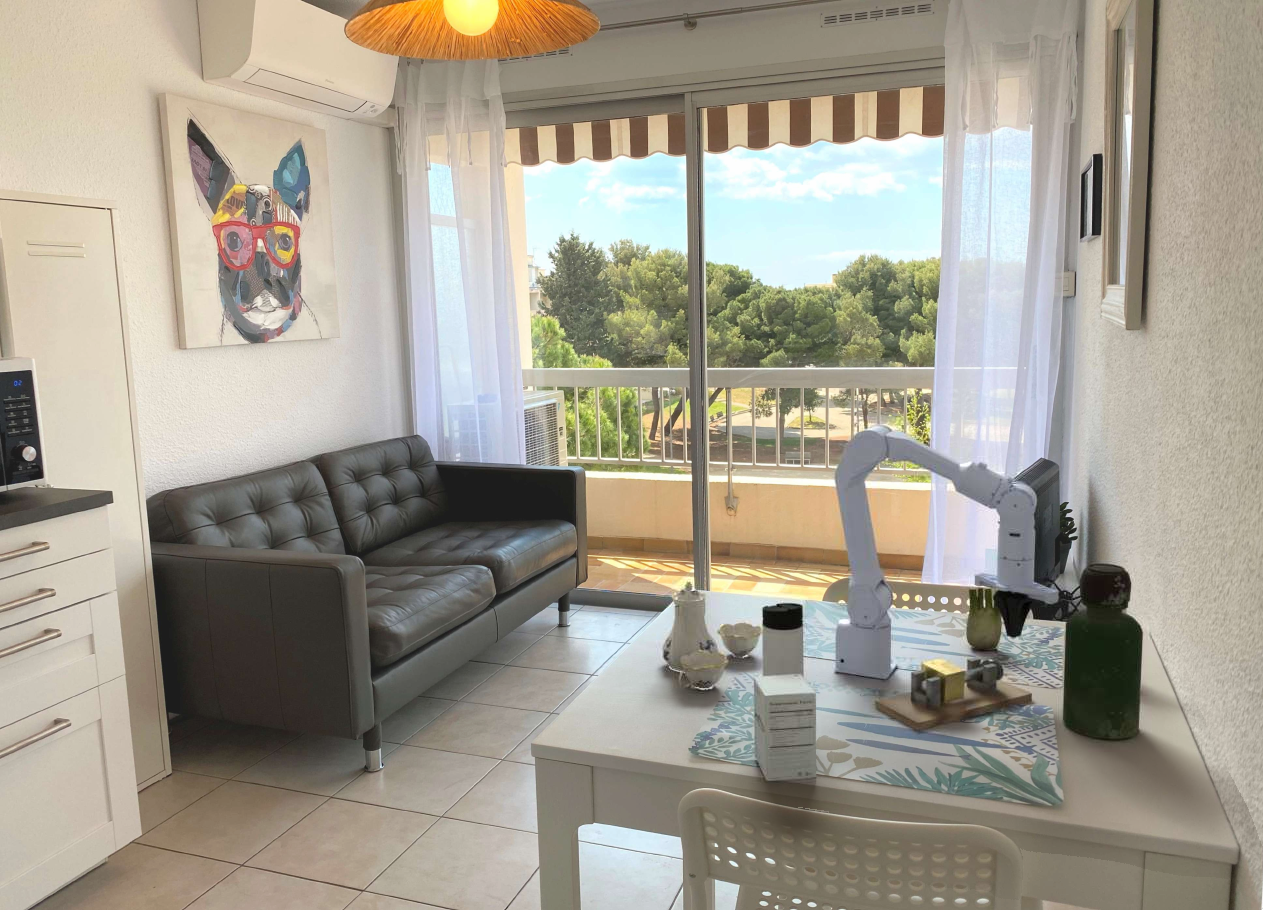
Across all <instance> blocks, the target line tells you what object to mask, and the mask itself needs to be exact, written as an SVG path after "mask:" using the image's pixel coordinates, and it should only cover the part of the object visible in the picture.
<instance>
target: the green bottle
mask: <svg viewBox="0 0 1263 910" xmlns="http://www.w3.org/2000/svg"><path fill="white" fill-rule="evenodd" d="M1080 575H1081V576H1080V578H1079V597H1080V598H1081V604H1082V605H1083V606H1084V607H1086V608H1084V609H1080V610H1077V611H1075V612H1074V613H1073V614H1072V615H1070V616H1069V617H1068V618H1067V620H1066V622H1065V637H1064V639H1065V640H1064V666H1063V667H1064V669H1063V700H1062V703H1063V704H1062V721H1063V722H1064V724H1065V725H1066V727H1068V728H1069V729H1070V730H1071V731H1074V732H1076V733H1078V734H1081V735H1084V736H1087V737H1092V738H1096V739H1100V740H1101V739H1103V740H1123V739H1127V738H1132V737H1134V736H1135V735H1137V734H1138V732H1139V730H1140V713H1141V712H1140V711H1141V689H1142V688H1141V685H1142V665H1143V664H1142V663H1143V662H1142V661H1143V660H1142V659H1143V644H1144V643H1143V642H1144V641H1143V640H1144V638H1143V637H1144V632H1143V629H1142V625H1141V624H1140V623H1139V622H1138V621H1137V620H1136V619H1135V618H1134V617H1133V616H1132V615H1130V614H1125V613H1123V612H1122V610H1124V609H1126V610H1127V609H1128V608H1129V603H1130V601H1131V595H1132V594H1131V593H1132V580H1131V576H1130V573H1129V572H1128V571H1126V568H1125V567H1123V566H1121V565H1118V564H1111V563H1091V564H1087V565H1086V567H1085V568H1084V569H1083V570H1082V572H1081V574H1080Z"/></svg>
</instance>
